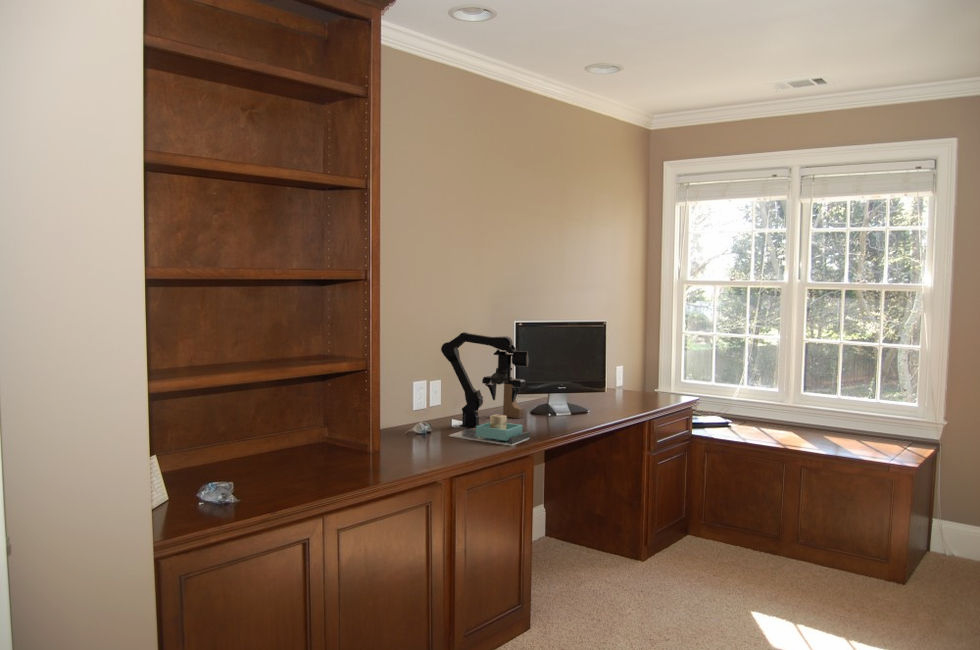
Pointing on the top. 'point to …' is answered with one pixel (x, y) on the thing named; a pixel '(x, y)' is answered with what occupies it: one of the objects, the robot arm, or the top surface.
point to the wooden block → (511, 404)
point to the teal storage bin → (498, 431)
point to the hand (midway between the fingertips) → (503, 401)
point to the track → (471, 435)
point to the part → (498, 421)
